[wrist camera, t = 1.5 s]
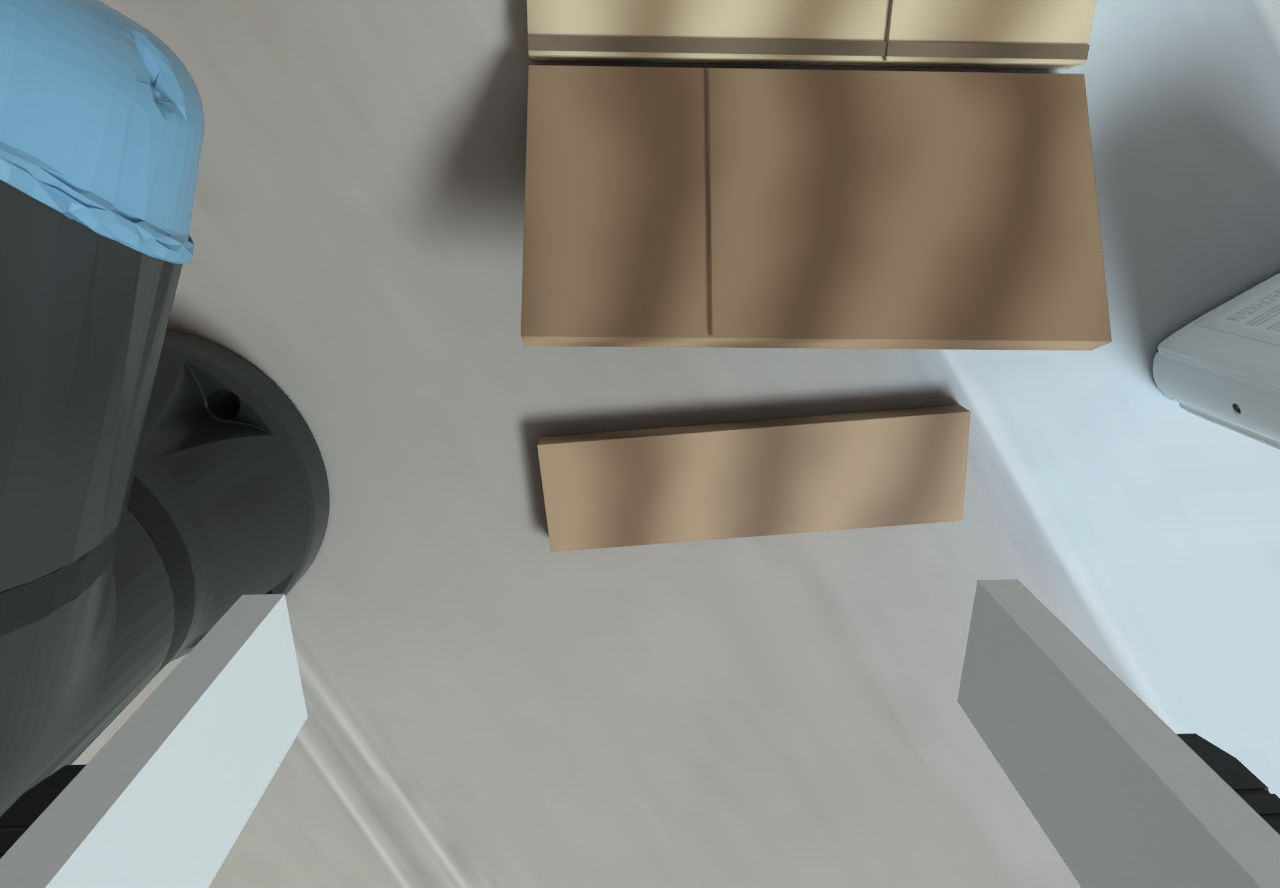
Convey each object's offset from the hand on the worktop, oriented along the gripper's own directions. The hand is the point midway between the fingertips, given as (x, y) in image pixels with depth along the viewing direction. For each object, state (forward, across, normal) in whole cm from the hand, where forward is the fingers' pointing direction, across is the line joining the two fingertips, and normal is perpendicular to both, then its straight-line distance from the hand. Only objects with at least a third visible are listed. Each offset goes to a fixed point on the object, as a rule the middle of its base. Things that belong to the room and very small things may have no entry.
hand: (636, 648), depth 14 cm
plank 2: (+21, +6, -5) cm, 23 cm away
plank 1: (+19, +7, +7) cm, 21 cm away
